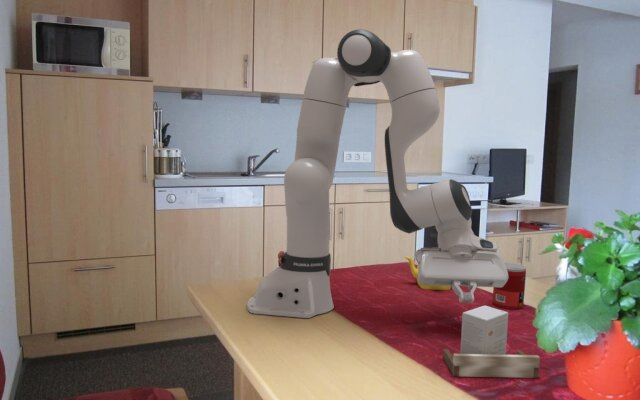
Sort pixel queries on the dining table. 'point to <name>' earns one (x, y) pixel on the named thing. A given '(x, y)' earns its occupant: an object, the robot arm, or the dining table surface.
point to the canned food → (511, 288)
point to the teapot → (415, 274)
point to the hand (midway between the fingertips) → (467, 301)
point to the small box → (484, 331)
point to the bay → (492, 365)
